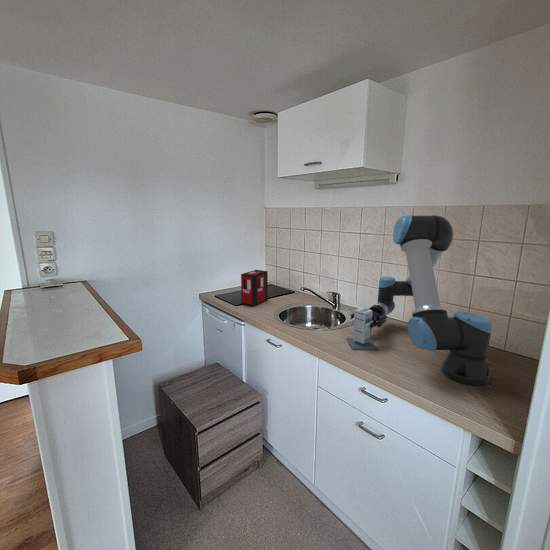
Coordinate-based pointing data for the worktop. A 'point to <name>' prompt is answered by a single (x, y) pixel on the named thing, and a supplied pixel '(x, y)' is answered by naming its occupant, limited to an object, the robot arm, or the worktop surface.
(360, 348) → the charcoal mat
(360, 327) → the syrup box
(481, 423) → the worktop surface
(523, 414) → the worktop surface
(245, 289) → the cleaning product box
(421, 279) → the robot arm
